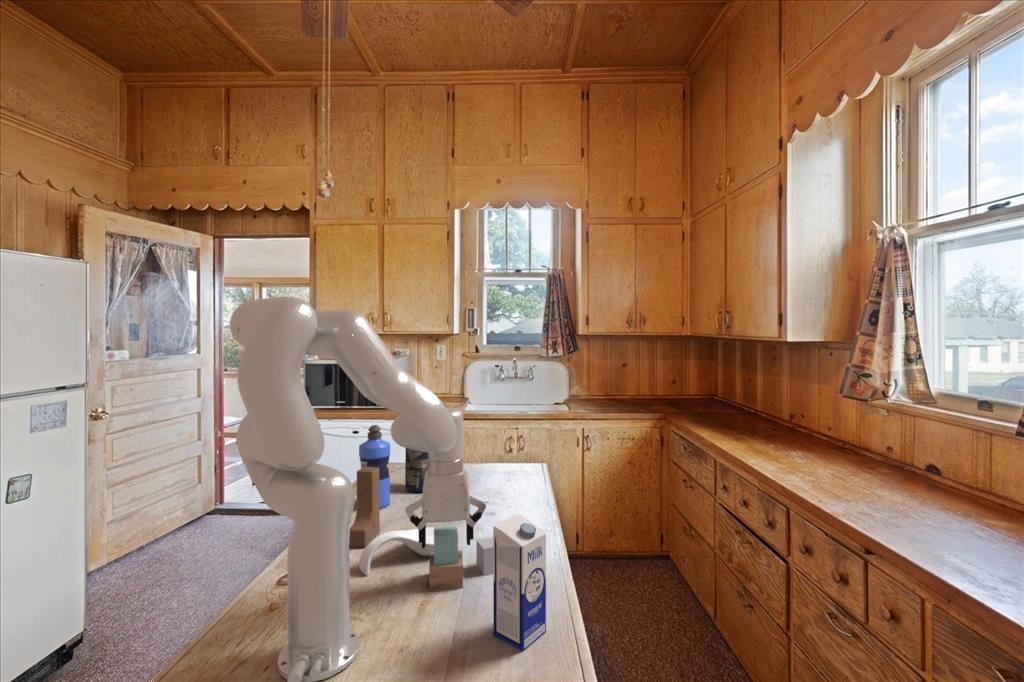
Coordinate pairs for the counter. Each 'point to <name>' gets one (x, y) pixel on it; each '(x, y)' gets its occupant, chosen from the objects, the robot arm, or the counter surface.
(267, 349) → the robot arm
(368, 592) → the counter surface
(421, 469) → the canister
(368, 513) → the wooden block
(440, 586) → the walnut block
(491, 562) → the grey block
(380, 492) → the water bottle
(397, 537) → the spoon rest
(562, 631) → the counter surface
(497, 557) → the milk carton
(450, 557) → the teal block
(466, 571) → the counter surface
